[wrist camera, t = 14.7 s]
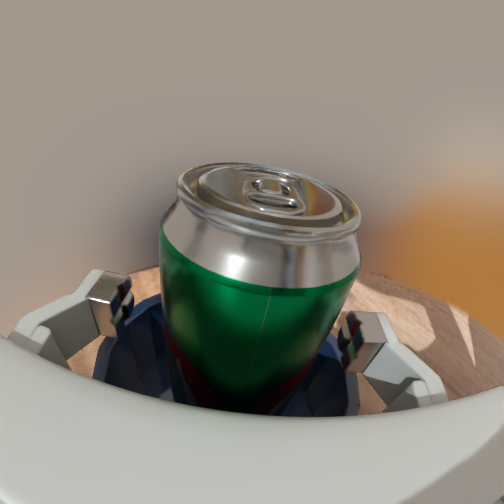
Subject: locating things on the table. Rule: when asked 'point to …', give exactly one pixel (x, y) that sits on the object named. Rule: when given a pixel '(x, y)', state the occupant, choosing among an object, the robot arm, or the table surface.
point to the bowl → (158, 380)
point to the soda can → (252, 282)
